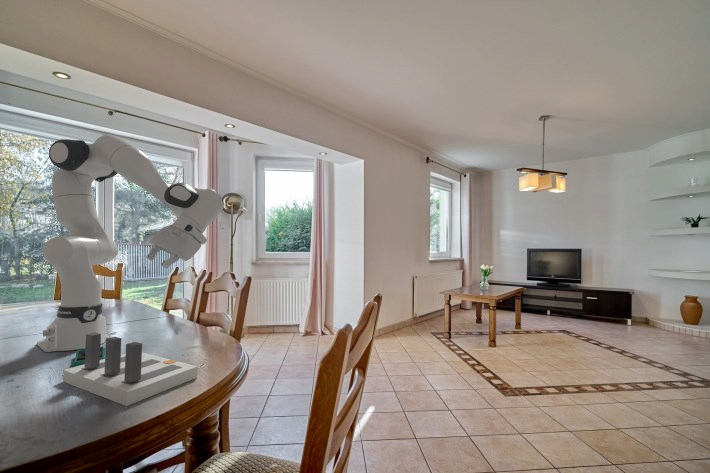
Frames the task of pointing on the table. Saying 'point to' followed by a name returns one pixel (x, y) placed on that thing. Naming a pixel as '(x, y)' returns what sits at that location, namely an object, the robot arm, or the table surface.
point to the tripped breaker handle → (112, 355)
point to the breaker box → (114, 387)
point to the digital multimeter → (81, 357)
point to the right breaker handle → (133, 361)
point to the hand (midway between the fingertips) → (155, 262)
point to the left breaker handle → (92, 350)
